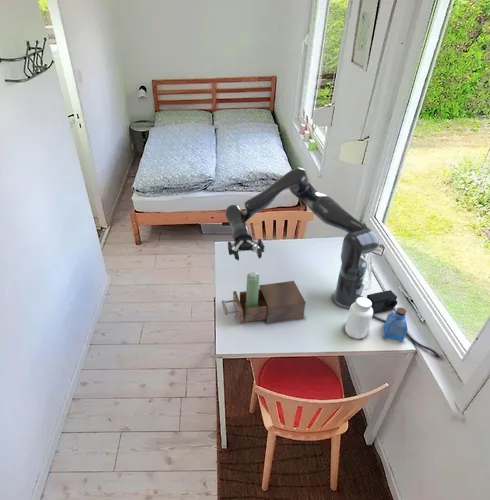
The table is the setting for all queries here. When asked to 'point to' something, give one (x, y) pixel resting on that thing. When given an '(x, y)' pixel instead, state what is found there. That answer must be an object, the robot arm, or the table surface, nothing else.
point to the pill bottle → (359, 318)
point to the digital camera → (382, 301)
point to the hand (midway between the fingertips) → (249, 257)
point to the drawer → (248, 313)
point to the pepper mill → (252, 290)
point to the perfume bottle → (396, 325)
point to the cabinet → (283, 301)
